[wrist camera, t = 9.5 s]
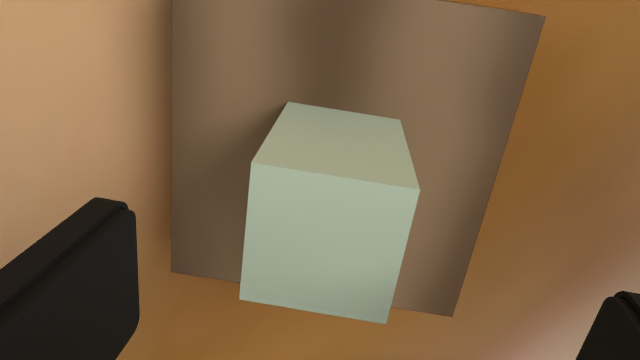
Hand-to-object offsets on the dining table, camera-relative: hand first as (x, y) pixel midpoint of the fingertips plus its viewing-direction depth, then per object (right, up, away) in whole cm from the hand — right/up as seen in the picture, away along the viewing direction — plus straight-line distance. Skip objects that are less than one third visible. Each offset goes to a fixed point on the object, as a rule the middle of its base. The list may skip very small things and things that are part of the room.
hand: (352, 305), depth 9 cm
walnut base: (0, +4, +11) cm, 11 cm away
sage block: (0, +3, +8) cm, 8 cm away
